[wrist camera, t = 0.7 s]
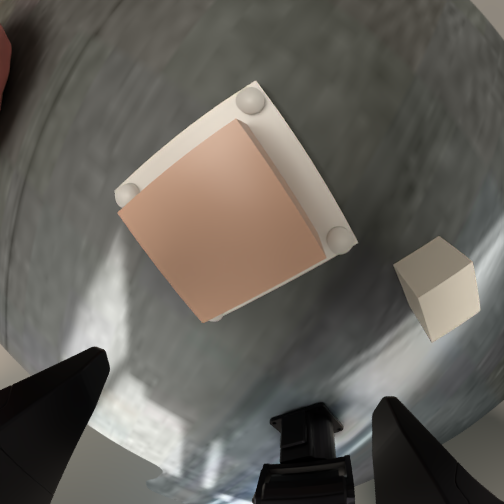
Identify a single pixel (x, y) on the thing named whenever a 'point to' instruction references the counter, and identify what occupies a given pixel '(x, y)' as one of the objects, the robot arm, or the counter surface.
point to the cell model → (4, 60)
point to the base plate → (233, 207)
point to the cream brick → (439, 287)
